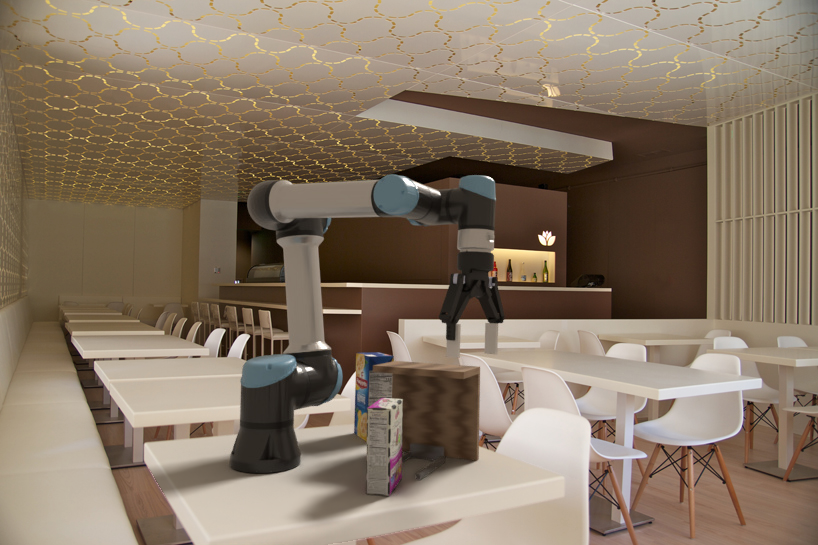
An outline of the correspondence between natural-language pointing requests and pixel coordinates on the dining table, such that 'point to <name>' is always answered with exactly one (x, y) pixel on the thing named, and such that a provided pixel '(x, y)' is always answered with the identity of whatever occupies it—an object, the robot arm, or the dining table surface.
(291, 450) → the robot arm
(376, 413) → the candy bar box
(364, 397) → the blue cardboard box
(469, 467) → the dining table surface
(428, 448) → the overhang shelf
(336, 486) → the dining table surface
